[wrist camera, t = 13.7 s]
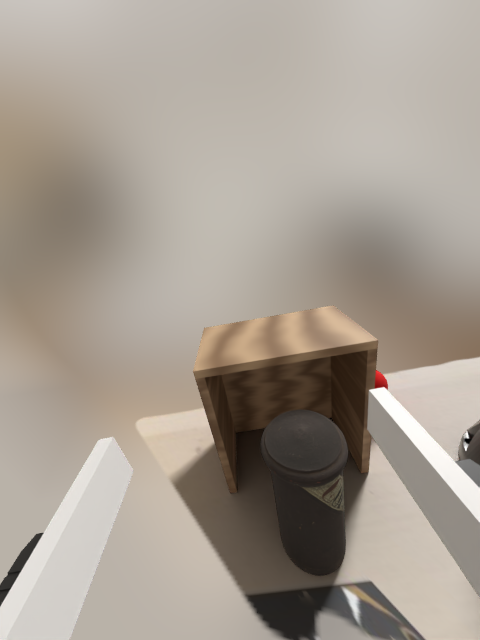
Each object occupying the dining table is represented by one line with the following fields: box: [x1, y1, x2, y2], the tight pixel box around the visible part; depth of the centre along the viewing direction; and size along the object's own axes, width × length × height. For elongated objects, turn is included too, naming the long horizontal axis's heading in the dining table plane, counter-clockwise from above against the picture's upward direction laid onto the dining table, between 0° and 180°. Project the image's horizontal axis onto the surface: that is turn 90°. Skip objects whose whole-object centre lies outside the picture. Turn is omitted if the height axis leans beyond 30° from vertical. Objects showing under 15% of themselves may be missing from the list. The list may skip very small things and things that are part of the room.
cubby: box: [193, 306, 378, 493], centre depth 40 cm, size 23×13×25 cm, turn 92°
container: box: [260, 409, 348, 576], centre depth 28 cm, size 9×9×20 cm
